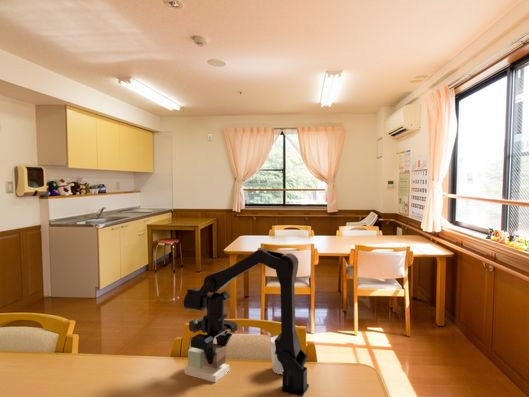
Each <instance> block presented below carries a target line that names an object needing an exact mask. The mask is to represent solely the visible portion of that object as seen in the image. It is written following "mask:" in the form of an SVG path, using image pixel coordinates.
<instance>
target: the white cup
mask: <svg viewBox="0 0 529 397" xmlns="http://www.w3.org/2000/svg"><path fill="white" fill-rule="evenodd" d="M278 336H279V335H275V336H272V337H271V339H270V353H271V365H272V366H271V367H272V372H273V371H274V372H273V373H275V374H276V373H277V375H279V374H281V376H282V372H283V371H284V370H283V367H282V364H281V363H280V362H279V361H278V359H277V354H275V351H276V347H275V339H276V338H277V337H278Z"/></svg>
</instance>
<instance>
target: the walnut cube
mask: <svg viewBox="0 0 529 397" xmlns="http://www.w3.org/2000/svg"><path fill="white" fill-rule="evenodd" d="M226 349H227V346H226V347H225V346H221V345H217V347H216V351H215V355H214V359H213V362H212V364H208V361H207V358H206V355H205V352H204V366H208V367H212V368H216V369H217V368H219V367H220V366H221V365H222V364H226V363H227V362H226V359H227V358H226V357H227V356H226V352H227V350H226Z"/></svg>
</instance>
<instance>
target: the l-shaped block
mask: <svg viewBox="0 0 529 397" xmlns="http://www.w3.org/2000/svg"><path fill="white" fill-rule="evenodd" d="M228 371H229V372H230V364H228V363H224V364H222V365H221V366H220V367H219V368H217V369H216V368H212V367H208V366H204V350H202V349H197V348H193V347H190V348H189V349H188V350H187V366H185V367H184V375H188V376H191V377H194V378H199V379H201V380H204V381H208V382H212V383H215V384H216V383H217V382H218V381H219V380H221V379H222V378H223V377H224V376H225V375H227V374H228V373H229V372H228ZM227 372H228V373H227ZM224 374H225V375H224Z"/></svg>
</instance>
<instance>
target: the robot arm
mask: <svg viewBox="0 0 529 397" xmlns="http://www.w3.org/2000/svg"><path fill="white" fill-rule="evenodd" d="M260 264H262V265H264V266H266V267H268V268H270V269H273V270H275V272H276V277H277V280H278V284H279V286H280V325H281V326H280V330H281V331H280V333H279V334H278V335H277V336H278V337H277V338H276V339H275V347H276V351H275V354H277V359H278V361H279V362H280V363H281V364H282V367H283V370H284V371H283V372H282V375H281V376H282V377H281V378H282V379H281V380H282V381H281V382H282V384H281V385H282V388H281V391H282V392H283V393H286V394H291V395H293V396H298V397H304V395H305V393H306V391H307V390H308V388H309V387H310V384H309V383H308V367H307V366H305V365H306V363H307V361H308V358H309V357H308V355H307V354H306V353H305V351H303V349H302V348H301V343H300V339H299V335H298V333H297V331H296V299H295V298H296V296H295V294H296V293H295V292H296V291H295V289H296V288H295V284H296V279H297V274H298V269H299V259H298V257H297V256H296V255H295V254H293V253H290V252H289V253H282V252H277V251H273V250H269V249H266V248H260V249H257V250H255V251H254V252H253V253H252V254H249V255H248V256H247V257H244V258H243V259H241V260H240V261H237V262H236V263H234V264H233V265H231V266H229V267H227V268H224V269H221V270H219V271H216V272H214V273H211V274H208V275H206V276H205V278H204V280H203V285H202V286H201V287H200V289H198V288H194V287H190V288H187V293H186V294H185V296H184V299H183V307H184V309H186V310H191V311H201V312H202V311H204V310H205V309H206V312H205V313H206V314H205V315H203V316H202V318H200V319H192V320H190V321H189V322H188V329H189V332H192V333H193V334H195V333H197V332H200V331H201V333H198V334H196V335H195V336H193V337H191V339H190V340H189V343H190V344H189V346H190V348H197V349H202V350H204V352H205V355H206V358H207V361H208V364H212V362H213V359H214V355H215V351H216V347H217V345H221V346H225V347H226V348H227V346H228V344H229V341H230V339H231V338H232V337H233V334H234V333H236V332H237V331H238V324H237V323H236V321H233V320H226V318H227V316H228V314H227V313H225V301H227V300H229V299H230V298H231V295H230V294H229V293H228V292H227V290H224V291H222V292H218V291H220V290H222V289H224V288H225V287H227V286H228V285H229V284H230V283H232V281H233V280H234V279H235V278H237V277H238V276H240V275H241V274H243V273H245V272H247V271H249V270H251V269H252V268H255V266H257V265H260ZM229 330H230V332H229ZM203 333H204V334H203ZM205 333H206V334H205ZM215 339H216V343H215Z"/></svg>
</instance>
